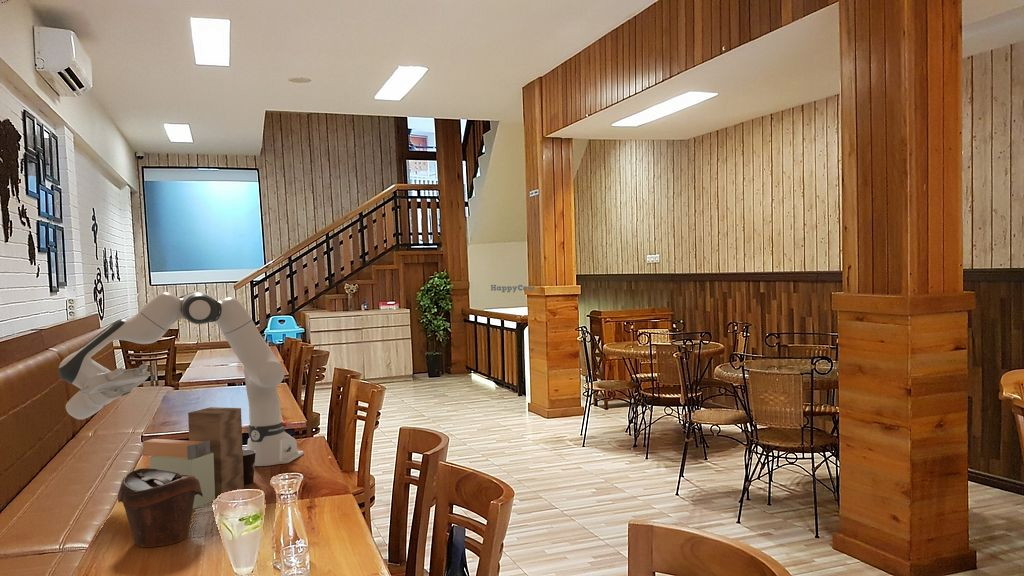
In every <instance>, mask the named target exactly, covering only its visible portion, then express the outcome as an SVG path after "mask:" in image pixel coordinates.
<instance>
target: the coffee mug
mask: <svg viewBox="0 0 1024 576" xmlns="http://www.w3.org/2000/svg"><path fill="white" fill-rule="evenodd" d="M255 455H256V451H255V450H247V449H243V476H244V486H247V485H248V486H249V485H251V484H252V483H254V475H255V467H256V466H255Z"/></svg>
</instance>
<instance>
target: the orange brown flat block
mask: <svg viewBox="0 0 1024 576" xmlns="http://www.w3.org/2000/svg"><path fill="white" fill-rule="evenodd" d="M142 447H143V449H142V451H143V456H144V455H145V456H155V455H157V456H173V457H188V459H189V460H191V459H194V458H197V457H200V456H203V455H206V454H209V453H210V440H205V441H189V440H182V439H181V440H179V439H165V438H162V439H161V438H152V439H148V440H144V441H142Z"/></svg>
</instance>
